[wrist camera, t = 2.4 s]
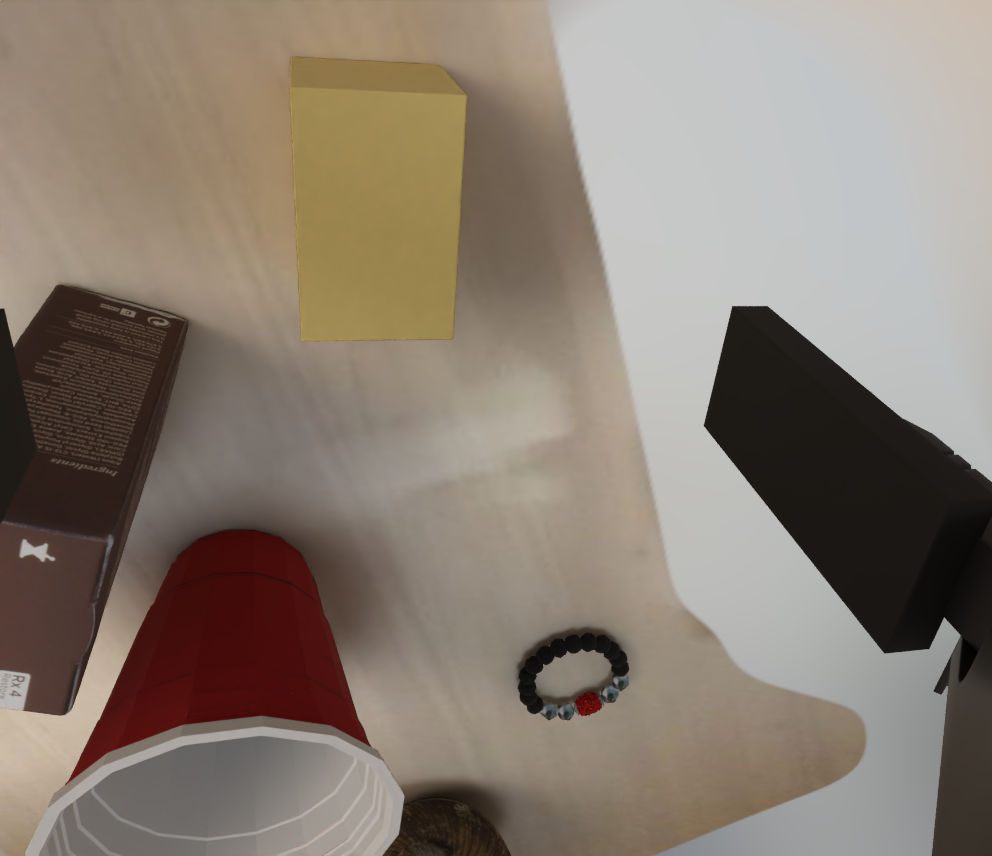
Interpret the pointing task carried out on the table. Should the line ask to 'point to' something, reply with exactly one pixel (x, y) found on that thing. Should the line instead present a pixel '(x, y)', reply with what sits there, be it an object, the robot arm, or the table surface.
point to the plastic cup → (228, 725)
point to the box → (77, 482)
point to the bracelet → (607, 693)
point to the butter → (376, 198)
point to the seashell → (445, 831)
